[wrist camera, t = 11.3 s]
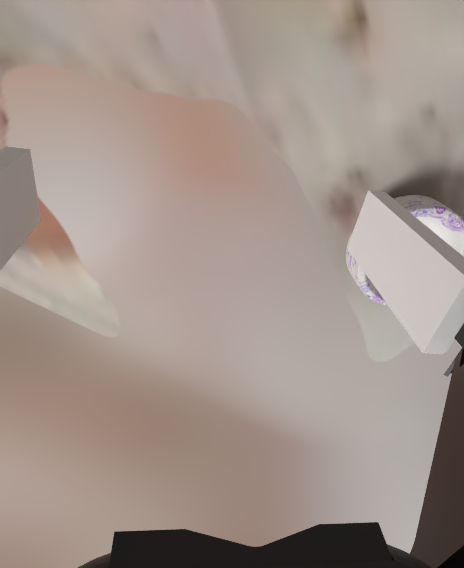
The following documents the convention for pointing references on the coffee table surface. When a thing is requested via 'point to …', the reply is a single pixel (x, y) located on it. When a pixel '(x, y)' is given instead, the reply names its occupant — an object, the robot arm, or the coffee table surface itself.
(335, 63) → the coffee table surface
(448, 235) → the paper bowls
